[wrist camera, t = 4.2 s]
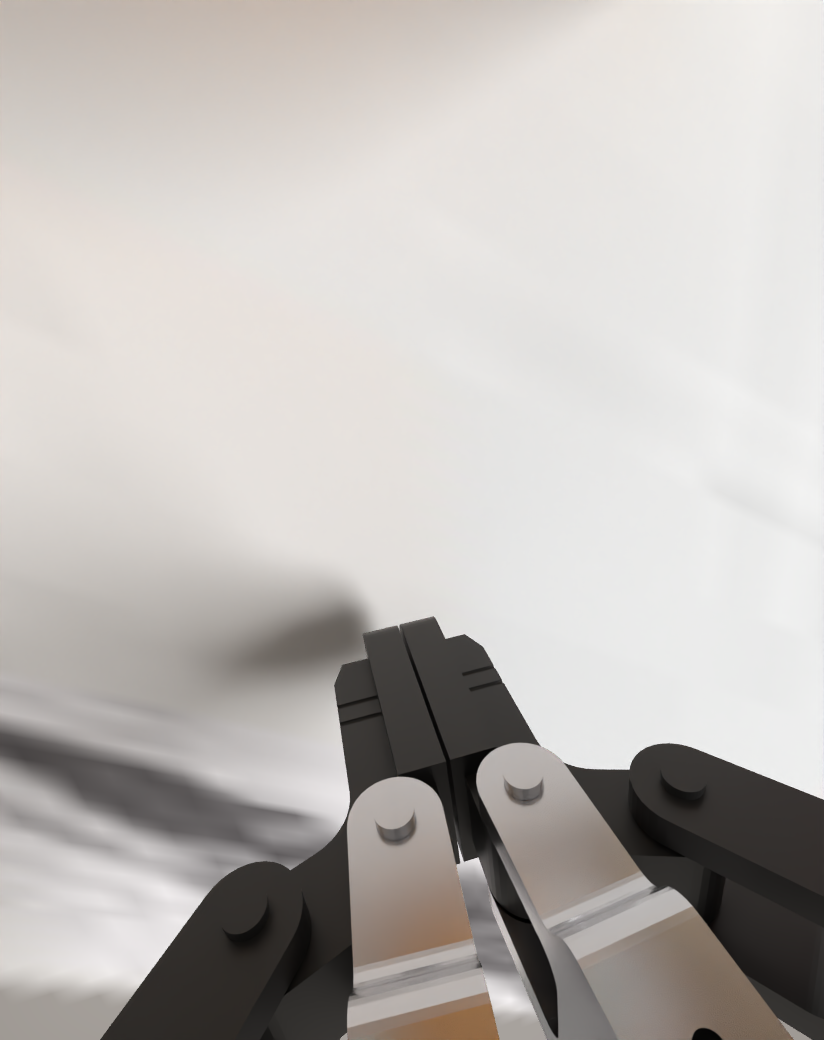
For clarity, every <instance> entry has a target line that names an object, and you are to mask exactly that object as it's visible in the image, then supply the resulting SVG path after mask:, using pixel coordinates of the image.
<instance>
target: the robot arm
mask: <svg viewBox="0 0 824 1040" xmlns="http://www.w3.org/2000/svg"><path fill="white" fill-rule="evenodd" d="M363 638H364V644H365V649H366V653H367V658H368V659H365V660H361V661H357V662H353V663H349V664H345V665H342V667H341V670H340V672H339V675H338V677H337V680H336V682H335V685H334V686H335V693H336V700H337V707H338V714H339V721H340V726H341V727H340V728H341V735H342V742H343V749H344V756H345V763H346V770H347V777H348V784H349V791H350V806H349V811H348V814H347V817H346V819H345V822H344V824H343V826H342V827H341V829H340V830H339V832H338V833H337V835H336V836H335V837H334V838H333V839H332V841H331V842H329V843H328V844H327V845H326V846H325V847H324V848H323V849H322V850H320V851H319V852H318V853H316V854H315V855H313V856H312V857H310V858H309V859H307V860H306V861H304V862H303V863H301V864H299V865H298V866H296V867H295V868H293V869H292V870H289V869H288V868H286V867H285V866H283V865H281V864H278V863H275V862H267V861H263V862H255V863H251V864H247V865H245V866H243V867H240V868H238V869H236V870H235V871H233V872H231V873H229V874H228V875H227V876H225V877H224V878H223V879H221V880H220V881H219V882H218V883H217V884H216V885H215V886H214V887H213V888H212V890H211V891H210V892H209V893H208V894H207V896H206V897H205V898H204V900H203V901H202V902H201V904H200V905H199V906H198V908H197V909H196V910H195V912H194V913H193V915H192V916H191V917H190V919H189V920H188V921H187V923H186V924H185V925H184V927H183V928H182V929H181V931H180V932H179V934H178V935H177V936H176V938H175V939H174V940H173V942H172V943H171V944H170V946H169V947H168V948H167V950H166V951H165V953H164V954H163V955H162V957H161V958H160V959H159V961H158V962H157V963H156V965H155V966H154V967H153V969H152V970H151V972H150V973H149V974H148V976H147V977H146V978H145V980H144V981H143V982H142V984H141V985H140V986H139V988H138V989H137V991H136V992H135V993H134V995H133V996H132V997H131V999H130V1000H129V1001H128V1003H127V1004H126V1006H125V1007H124V1008H123V1010H122V1011H121V1012H120V1014H119V1015H118V1016H117V1018H116V1019H115V1020H114V1022H113V1023H112V1024H111V1026H110V1027H109V1029H108V1030H107V1031H106V1033H105V1034H104V1035H103V1037H102V1038H101V1039H100V1040H340V1038H341V1037H342V1036H343V1035H344V1034H345V1033H347V1038H348V1039H347V1040H499V1035H498V1031H497V1027H496V1023H495V1018H494V1014H493V1010H492V1005H491V1001H490V997H489V993H488V989H487V985H486V981H485V977H484V973H483V969H482V966H481V963H480V961H479V960H478V957H477V953H476V949H475V945H474V941H473V936H472V932H471V928H470V923H469V919H468V915H467V910H466V906H465V901H464V897H463V893H462V888H461V884H460V880H459V875H458V871H457V866H456V864H459V863H460V858H459V851H458V845H459V848H460V851H461V854H462V857H463V860H464V862H465V861H468V860H471V859H474V858H477V857H479V860H480V863H481V865H482V868H483V871H484V874H485V877H486V879H487V883H488V892H489V900H490V905H491V908H492V911H493V913H494V916H495V918H496V921H497V923H498V925H499V928H500V930H501V932H502V935H503V937H504V939H505V942H506V944H507V946H508V949H509V951H510V954H511V956H512V958H513V961H514V963H515V965H516V968H517V970H518V972H519V975H520V977H521V979H522V982H523V984H524V987H525V989H526V991H527V994H528V996H529V998H530V1001H531V1003H532V1005H533V1008H534V1010H535V1013H536V1015H537V1017H538V1020H539V1022H540V1024H541V1027H542V1029H543V1031H544V1034H545V1036H546V1038H547V1040H793V1038H792V1037H791V1036H790V1034H789V1033H788V1032H787V1030H786V1029H785V1028H784V1026H783V1025H782V1024H781V1022H780V1021H779V1020H778V1019H780V1020H782V1021H783V1022H785V1023H787V1024H788V1025H790V1026H791V1027H793V1028H795V1029H796V1030H798V1031H799V1032H801V1033H803V1034H804V1035H806V1036H807V1037H809V1038H811V1039H812V1040H824V800H823V799H820V798H818V797H815V796H813V795H810V794H808V793H805V792H803V791H800V790H798V789H795V788H793V787H790V786H787V785H785V784H782V783H780V782H777V781H775V780H772V779H770V778H767V777H765V776H762V775H760V774H757V773H755V772H752V771H750V770H747V769H745V768H742V767H740V766H737V765H735V764H732V763H730V762H727V761H725V760H722V759H720V758H717V757H714V756H712V755H709V754H707V753H704V752H702V751H699V750H697V749H694V748H691V747H688V746H684V745H679V744H670V743H668V744H657V745H653V746H650V747H647V748H645V749H643V750H642V751H640V752H639V753H638V754H637V755H636V756H635V758H634V759H633V761H632V763H631V766H630V770H600V769H584V768H579V767H575V766H571V765H568V764H566V763H564V762H562V760H561V759H560V758H559V757H558V756H556V755H555V754H554V753H552V752H551V751H549V750H548V749H545V748H543V747H541V746H540V745H539V743H538V742H537V740H536V739H535V737H534V735H533V733H532V732H531V730H530V728H529V726H528V725H527V723H526V721H525V719H524V718H523V716H522V714H521V712H520V711H519V709H518V707H517V705H516V704H515V702H514V700H513V698H512V697H511V695H510V693H509V691H508V690H507V688H506V686H505V684H504V683H502V679H501V677H500V676H499V674H498V672H497V671H496V669H495V668H494V666H493V664H492V662H491V660H490V658H489V657H488V655H487V653H486V651H485V650H484V648H483V647H482V646H481V645H479V644H478V643H477V642H475V641H474V640H472V639H471V638H469V637H468V636H466V635H465V634H464V635H460V636H456V637H452V638H448V639H445V637H444V635H443V633H442V631H441V629H440V627H439V625H438V623H437V621H436V619H435V617H434V616H433V617H429V618H425V619H421V620H417V621H413V622H409V623H405V624H400V631H399V628H398V626H393V627H389V628H385V629H380V630H376V631H372V632H368V633H364V634H363ZM457 842H458V844H457Z"/></svg>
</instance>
